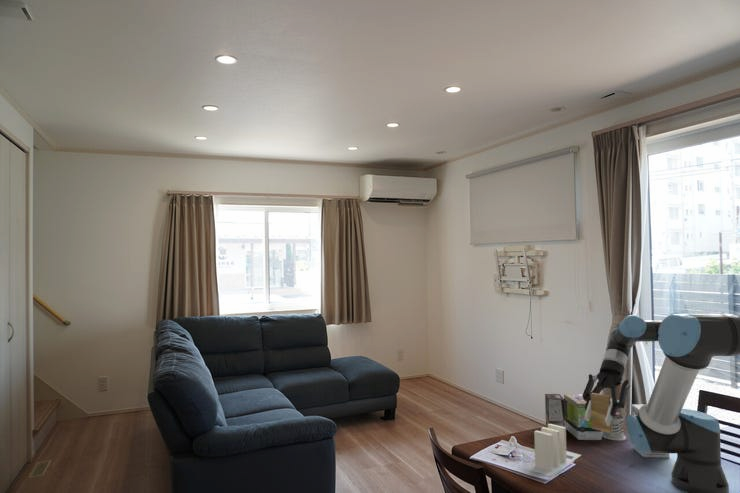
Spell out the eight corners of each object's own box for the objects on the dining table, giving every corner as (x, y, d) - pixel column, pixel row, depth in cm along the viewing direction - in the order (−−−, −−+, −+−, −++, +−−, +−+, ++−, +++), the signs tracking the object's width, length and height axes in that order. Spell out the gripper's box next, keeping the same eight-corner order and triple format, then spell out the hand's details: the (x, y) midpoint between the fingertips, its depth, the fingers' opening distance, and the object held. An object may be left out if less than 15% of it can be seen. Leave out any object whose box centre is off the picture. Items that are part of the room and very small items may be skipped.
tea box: (602, 440, 194) (601, 403, 194) (577, 440, 194) (576, 403, 194) (586, 427, 209) (586, 393, 209) (563, 427, 209) (562, 393, 210)
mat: (558, 450, 184) (558, 448, 184) (581, 456, 178) (581, 454, 178) (525, 470, 167) (525, 468, 167) (550, 478, 161) (549, 476, 161)
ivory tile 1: (550, 456, 177) (549, 423, 177) (566, 461, 173) (565, 427, 173) (548, 457, 176) (547, 424, 176) (564, 462, 172) (563, 428, 172)
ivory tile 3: (537, 464, 170) (536, 430, 171) (553, 469, 166) (552, 434, 166) (535, 465, 169) (534, 431, 169) (551, 471, 165) (550, 435, 165)
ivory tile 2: (544, 460, 174) (543, 426, 174) (560, 465, 169) (559, 430, 170) (541, 461, 173) (541, 427, 173) (558, 466, 168) (557, 432, 169)
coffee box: (565, 440, 195) (564, 399, 195) (548, 439, 196) (548, 399, 196) (561, 432, 203) (560, 393, 204) (545, 431, 205) (544, 393, 205)
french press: (594, 434, 201) (593, 373, 202) (613, 429, 206) (612, 370, 206) (615, 442, 192) (613, 378, 193) (634, 437, 197) (633, 375, 198)
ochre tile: (593, 427, 168) (592, 392, 168) (611, 431, 164) (610, 396, 164) (591, 428, 167) (590, 393, 167) (609, 432, 162) (608, 396, 163)
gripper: (645, 375, 170) (630, 434, 158) (590, 367, 183) (572, 420, 171) (639, 362, 166) (623, 421, 154) (583, 355, 180) (565, 408, 168)
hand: (596, 421), depth 163 cm, fingers closed on ochre tile, 6 cm apart
